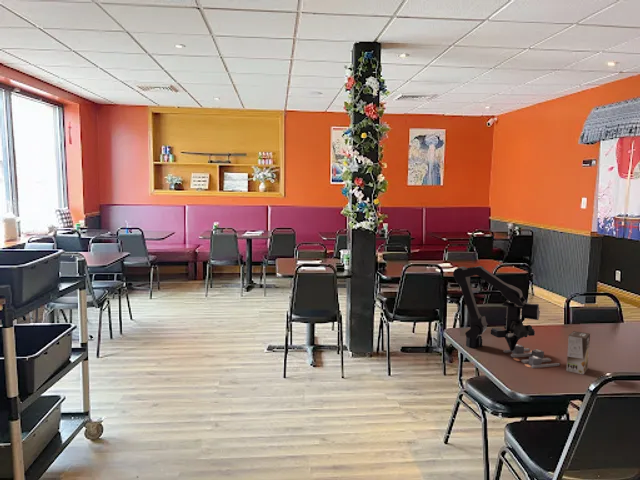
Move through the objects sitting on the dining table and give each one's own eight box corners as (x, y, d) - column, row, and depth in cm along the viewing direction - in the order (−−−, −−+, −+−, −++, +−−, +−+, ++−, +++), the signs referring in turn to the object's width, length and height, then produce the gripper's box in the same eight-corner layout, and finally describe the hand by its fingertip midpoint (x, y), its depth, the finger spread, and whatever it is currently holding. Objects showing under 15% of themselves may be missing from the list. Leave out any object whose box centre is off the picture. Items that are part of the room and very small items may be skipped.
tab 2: (535, 359, 201) (536, 351, 200) (531, 357, 203) (531, 349, 203) (543, 358, 202) (544, 350, 201) (539, 356, 204) (539, 348, 204)
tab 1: (515, 354, 207) (516, 346, 207) (512, 352, 210) (512, 344, 209) (523, 353, 208) (524, 345, 208) (519, 351, 211) (520, 344, 210)
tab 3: (533, 366, 192) (533, 358, 192) (528, 364, 195) (529, 356, 194) (541, 366, 193) (541, 357, 192) (536, 363, 196) (537, 355, 195)
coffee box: (583, 377, 184) (586, 338, 183) (565, 373, 188) (568, 335, 187) (587, 371, 191) (590, 333, 190) (570, 367, 195) (573, 330, 194)
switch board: (529, 371, 190) (529, 366, 190) (500, 354, 210) (500, 350, 210) (562, 368, 194) (563, 363, 194) (531, 352, 213) (531, 348, 213)
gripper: (505, 322, 197) (503, 357, 198) (544, 320, 201) (542, 355, 202) (490, 315, 208) (489, 349, 209) (527, 313, 211) (525, 347, 213)
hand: (511, 350), depth 208 cm, fingers closed
